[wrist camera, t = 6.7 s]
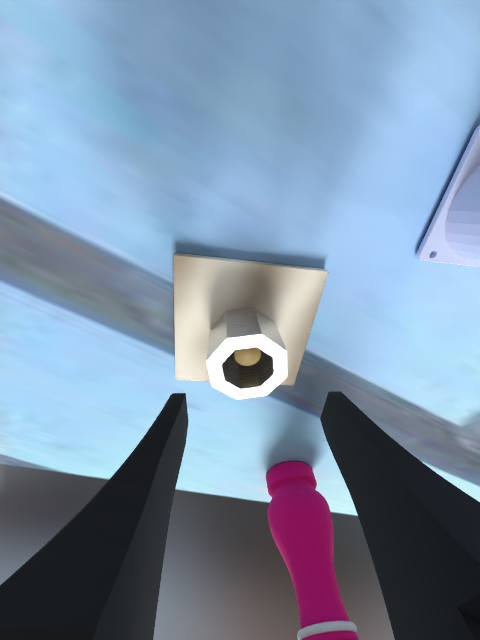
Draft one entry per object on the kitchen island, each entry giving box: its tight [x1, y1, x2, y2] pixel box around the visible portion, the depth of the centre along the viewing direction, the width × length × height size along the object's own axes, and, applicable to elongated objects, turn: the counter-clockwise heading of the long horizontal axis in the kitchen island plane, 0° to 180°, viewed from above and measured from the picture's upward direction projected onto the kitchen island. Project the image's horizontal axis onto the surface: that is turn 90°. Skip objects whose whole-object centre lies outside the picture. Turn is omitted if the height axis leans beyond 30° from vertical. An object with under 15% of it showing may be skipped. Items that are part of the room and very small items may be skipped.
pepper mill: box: [266, 461, 358, 640], centre depth 21 cm, size 7×7×20 cm
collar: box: [206, 307, 287, 399], centre depth 16 cm, size 5×5×4 cm
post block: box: [173, 253, 329, 385], centre depth 17 cm, size 11×11×4 cm
